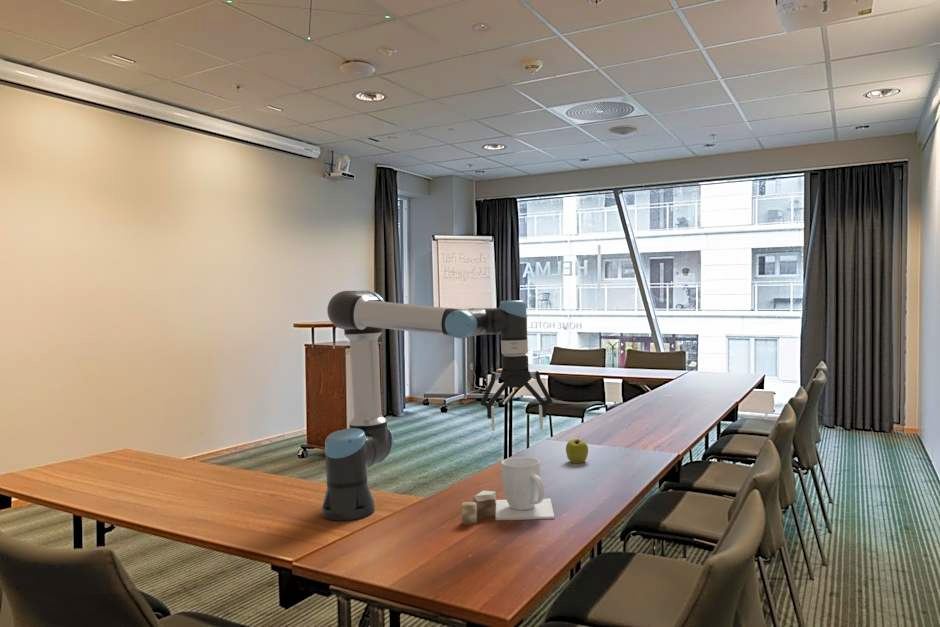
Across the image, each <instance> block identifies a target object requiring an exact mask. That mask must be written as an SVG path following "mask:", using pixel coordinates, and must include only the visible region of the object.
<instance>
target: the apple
mask: <svg viewBox="0 0 940 627" xmlns="http://www.w3.org/2000/svg"><path fill="white" fill-rule="evenodd" d="M565 454H566V457H567V459H568V460H569V462H570V463H573V464H577V463H578V464H581V463H584V462H585V461H586V460H587V458H588V455H589V446H588V444H587V443H586V442H585V441H584V440H583V439H580V436H578V437H577V438H574V439H570V440H569V441H568V442H567V443H566V446H565Z"/></svg>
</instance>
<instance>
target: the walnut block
mask: <svg viewBox="0 0 940 627" xmlns="http://www.w3.org/2000/svg"><path fill="white" fill-rule="evenodd" d="M473 502H475V503H476V506H477V520H481V519H492V518H496V505H495V499H494V498H493V496H492V495H491V494H489V495H479V496H476V495H474V496H473Z"/></svg>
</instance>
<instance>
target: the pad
mask: <svg viewBox="0 0 940 627" xmlns="http://www.w3.org/2000/svg"><path fill="white" fill-rule="evenodd" d="M552 504H553V503H552V500H551V498H549V497H548V498H544V499H543V501H542V502H541V503H539V504H535V506H534V507H533V508H532V509H529V510H515V509H512V508H511V507H510V505H509V504H508V502H507V500H506V499H496V505H495V512H496V517H495V521H513V520H515V521H518V520H519V521H520V520H522V521H523V520H551V519H553V520H554V519H555V513H554V510H553V505H552Z"/></svg>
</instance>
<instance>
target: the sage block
mask: <svg viewBox="0 0 940 627" xmlns="http://www.w3.org/2000/svg"><path fill="white" fill-rule="evenodd" d="M489 494H491V495H492V496H493V498H494V499H495V506H496V500H497V495H496V494H497V492H496V491H494V490H493V491H492V490H481V491H480V492H478V494H476V495H475V496H479V495H489Z"/></svg>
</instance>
